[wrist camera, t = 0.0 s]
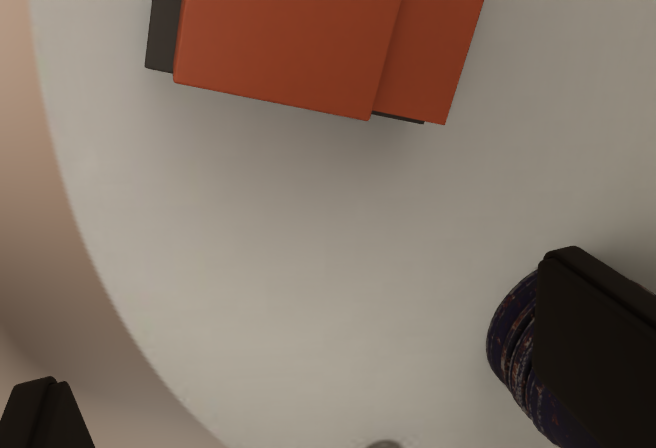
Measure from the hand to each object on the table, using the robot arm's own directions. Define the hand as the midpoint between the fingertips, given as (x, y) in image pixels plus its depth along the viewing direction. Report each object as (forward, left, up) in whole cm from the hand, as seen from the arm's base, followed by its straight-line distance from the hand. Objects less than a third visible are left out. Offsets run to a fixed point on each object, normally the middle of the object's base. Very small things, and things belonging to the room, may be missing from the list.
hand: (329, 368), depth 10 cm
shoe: (-2, +6, -15) cm, 17 cm away
